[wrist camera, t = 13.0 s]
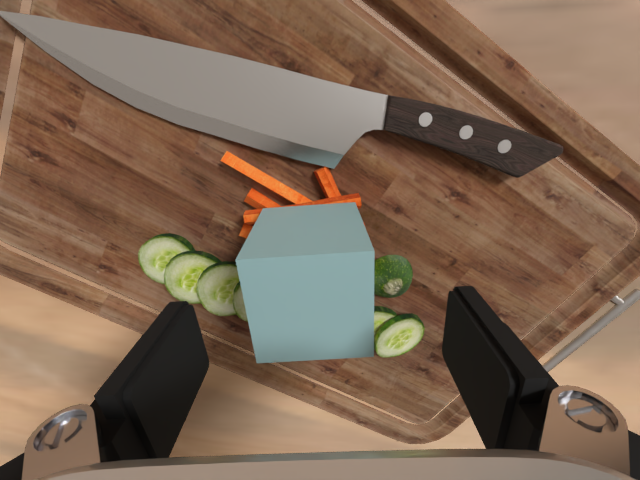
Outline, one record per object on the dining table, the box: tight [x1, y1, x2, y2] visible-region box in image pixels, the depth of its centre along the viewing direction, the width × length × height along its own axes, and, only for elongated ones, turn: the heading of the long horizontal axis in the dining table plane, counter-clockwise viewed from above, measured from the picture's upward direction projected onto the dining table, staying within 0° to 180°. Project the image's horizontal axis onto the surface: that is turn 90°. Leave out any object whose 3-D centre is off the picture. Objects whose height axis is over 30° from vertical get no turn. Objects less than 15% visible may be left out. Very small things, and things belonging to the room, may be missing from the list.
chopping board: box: [0, 0, 640, 444], centre depth 19 cm, size 45×27×3 cm, turn 58°
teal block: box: [236, 202, 375, 363], centre depth 15 cm, size 5×5×6 cm
